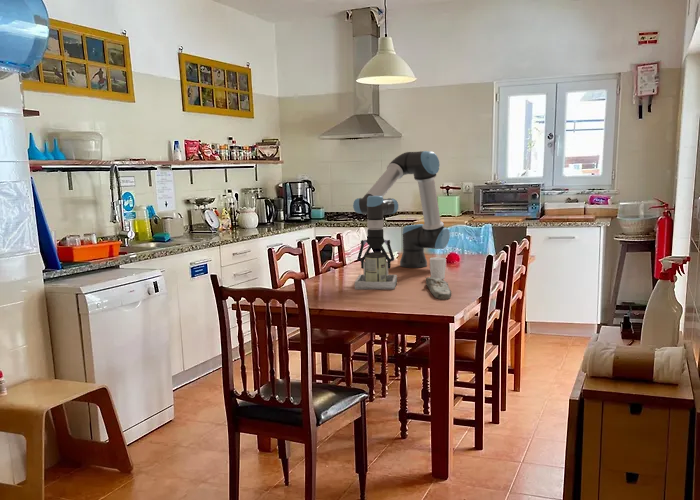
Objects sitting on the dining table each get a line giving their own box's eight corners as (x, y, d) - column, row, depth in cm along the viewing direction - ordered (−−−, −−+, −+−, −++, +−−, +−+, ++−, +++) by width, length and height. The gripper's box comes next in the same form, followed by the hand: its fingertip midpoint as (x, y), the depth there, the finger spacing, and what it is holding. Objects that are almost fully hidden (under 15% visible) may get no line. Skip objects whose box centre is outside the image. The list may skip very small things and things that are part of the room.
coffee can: (369, 280, 291) (369, 251, 288) (389, 281, 287) (389, 252, 284) (361, 284, 281) (361, 255, 279) (382, 286, 277) (382, 256, 275)
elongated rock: (431, 303, 252) (455, 304, 252) (432, 291, 251) (456, 292, 251) (422, 282, 286) (443, 283, 286) (423, 271, 285) (444, 272, 285)
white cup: (445, 280, 293) (445, 259, 291) (429, 279, 294) (429, 259, 293) (446, 277, 300) (446, 257, 299) (430, 276, 302) (430, 257, 301)
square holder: (359, 281, 294) (359, 274, 293) (396, 281, 291) (396, 274, 291) (354, 289, 276) (354, 281, 275) (394, 289, 273) (394, 282, 273)
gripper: (350, 229, 278) (351, 276, 281) (399, 229, 275) (399, 277, 278) (352, 228, 285) (353, 273, 288) (399, 227, 282) (400, 274, 285)
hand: (375, 275), depth 283 cm, fingers closed on coffee can, 10 cm apart
